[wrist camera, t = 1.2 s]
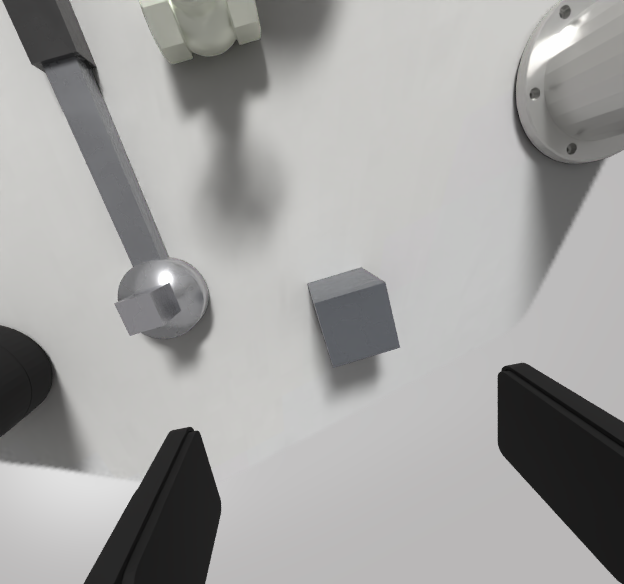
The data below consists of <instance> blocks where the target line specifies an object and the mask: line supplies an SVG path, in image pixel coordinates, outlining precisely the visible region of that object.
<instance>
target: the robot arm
mask: <svg viewBox="0 0 624 584" xmlns="http://www.w3.org/2000/svg"><path fill="white" fill-rule="evenodd" d="M516 100H517V109H518V113H519V118H520V121H521V124H522V126H523V128H524V131H525V133H526V135H527V136H528V138H529V139H530V140H531V142H532V143H533V145H534V146H535V147H536V148H537V149H539V150H540V151H541V152H542V153H543V154H544V155H546V156H548V157H550V158H552V159H554V160H556V161H560V162H564V163H575V164H581V163H586V162H592V161H597V160H601V159H604V158H607V157H610V156H612V155H614V154H616V153H618V152H620V151H622V150H624V0H561V1H559V2H558V3H557V4H556V5H555V6H553V7H552V8H551V9H550V11H549V12H548V13H547V14H546V15H545V16H544V17H543V18H542V20H541V21H540V22H539V24H538V25H537V27H536V28H535V30H534V32H533V33H532V35H531V36H530V38H529V41H528V43H527V45H526V47H525V50H524V52H523V54H522V58H521V62H520V66H519V69H518V75H517V84H516ZM498 446H499V449H500V451H501V453H502V454H503V456H504V457H505V458H506V459H507V460H508V461H509V462H510V463H511V465H512V466H513V467H514V468H515V469H516V470H517V471H518V472H519V473H520V475H521V476H522V477H523V478H524V479H525V480H526V481H527V482H528V483H529V484H530V485H531V486H532V488H534V490H535V491H536V492H537V493H538V494H539V495H540V496H541V498H542V499H543V500H544V501H545V502H546V503H547V504H548V505H549V506H550V507H551V508H552V510H553V511H554V512H555V513H556V514H557V515H558V516H559V517H560V518H561V519H562V521H563V522H564V523H565V524H566V525H567V526H568V527H569V528H570V529H571V530H572V531H573V533H574V534H575V535H576V536H577V537H578V538H579V539H580V540H581V541H582V542H583V543H584V545H586V547H587V548H588V549H589V550H590V551H591V552H592V553H593V554H594V556H595V557H596V558H597V559H598V560H599V561H600V562H601V563H602V564H603V565H604V567H605V568H606V569H607V570H608V571H609V572H610V573H611V574H612V575H613V576H614V577H615V578H616V579H617V580H618V581H619V582H620V583H622V584H624V422H622V421H621V420H619V419H617V418H616V417H614V416H612V415H611V414H609V413H607V412H606V411H604V410H602V409H601V408H599V407H597V406H596V405H594V404H592V403H590V402H589V401H587V400H586V399H584V398H582V397H581V396H579V395H578V394H576V393H574V392H572V391H571V390H569V389H567V388H566V387H564V386H563V385H561V384H559V383H558V382H556V381H554V380H553V379H551V378H549V377H548V376H546V375H544V374H543V373H541V372H539V371H538V370H536V369H534V368H533V367H531V366H530V365H528V364H526V363H519V364H513V365H508V366H504V367H503V368H502V371H501V372H500V373H499V374H498ZM220 515H221V500H220V496H219V493H218V490H217V487H216V483H215V480H214V477H213V474H212V470H211V467H210V464H209V461H208V457H207V454H206V451H205V447H204V444H203V441H202V438H201V435H200V432H199V431H194V429H193V428H192V427H187V428H182V429H177V430H172V431H170V432H169V434H168V435H167V437H166V439H165V441H164V443H163V444H162V446H161V448H160V450H159V452H158V453H157V455H156V457H155V459H154V461H153V462H152V464H151V466H150V468H149V470H148V471H147V473H146V475H145V477H144V479H143V481H142V482H141V484H140V486H139V488H138V489H137V490H136V492H135V493H134V495H133V496H132V498H131V500H130V502H129V503H128V505H127V507H126V509H125V511H124V513H123V514H122V516H121V518H120V520H119V521H118V523H117V525H116V527H115V529H114V530H113V532H112V534H111V536H110V538H109V539H108V541H107V543H106V545H105V547H104V548H103V550H102V552H101V554H100V555H99V557H98V559H97V561H96V563H95V565H94V566H93V568H92V570H91V572H90V573H89V575H88V577H87V579H86V580H85V582H84V584H205V581H206V577H207V573H208V568H209V564H210V559H211V554H212V550H213V546H214V541H215V537H216V533H217V528H218V524H219V519H220Z"/></svg>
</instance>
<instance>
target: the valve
mask: <svg viewBox="0 0 624 584" xmlns="http://www.w3.org/2000/svg"><path fill="white" fill-rule="evenodd" d="M139 2H140V6H141V9H142V12H143V14H144V17H145V19H146V22H147V24H148V27H149V29H150V31H151V33H152V35H153V37H154V40H155V42H156V44H157V45H158V47H159V49H160V51H161V53H162V54H163V56H164V57H165V59H166V60H167V61H168V62H170V63H171V64H172V65H173V64H177V63H180V62H183V61H187V60H190V59H193V55H192V52H193V53H195V54H198V55H201V56H208V57H209V56H217V55H220V54H222V53H224V52H226V51H227V50H228V49H229V48H230V47H231V46H232V45H233V43H234V42H235V40H236V39H237V40H238V43H239V45H242V44H245V43H249V42H252V41H255V40H259V39H260V37H261V27H260V21H259V17H258V12H257V7H256V3H255V0H139Z"/></svg>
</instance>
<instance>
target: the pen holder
mask: <svg viewBox="0 0 624 584" xmlns="http://www.w3.org/2000/svg"><path fill="white" fill-rule="evenodd" d="M51 382H52V371H51V366H50V363H49V360H48V358H47V356H46V354H45V353H44V351H43V350H42V349H41V348H40V346H39V345H38V344H37V343H36V342H34V341H33V340H32V339H31V338H29V337H28V336H26V335H25V334H23V333H21V332H19V331H16V330H14V329H11V328H8V327H5V326H1V325H0V437H1V436H2V435H4V434H5V433H6V432H7V431H8V430H10V429H11V428H12V427H13V426H15V425H16V424H17V423H18V422H19V421H20V420H22V419H23V418H24V417H25V416H26V415H28V414H29V413H30V412H31V411H32V410H33V409H35V408H36V407H37V406H38V405H39V404H40V403H41V402H42V401H43V400H44V399H45V398H46V396H47V394H48V392H49V390H50V387H51Z"/></svg>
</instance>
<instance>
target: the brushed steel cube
mask: <svg viewBox="0 0 624 584" xmlns="http://www.w3.org/2000/svg"><path fill="white" fill-rule="evenodd" d="M308 287H309V291H310V294H311V297H312V301H313V304H314V307H315V311H316V314H317V317H318V321H319V324H320V328H321V331H322V334H323V337H324V341H325V344H326V347H327V350H328V353H329V356H330V359H331V362H332V366H333V368H334V367H337V366H341V365H344V364H347V363H351V362H354V361H357V360H360V359H364V358H367V357H370V356H374V355H377V354H380V353H383V352H387V351H390V350H393V349H397V348H400V346H399V341H398V337H397V332H396V328H395V323H394V319H393V315H392V310H391V306H390V301H389V297H388V292H387V288H386V283H385V282H384V281H383V280H381V279H379V278H378V277H376V276H375V275H373V274H371V273H370V272H368V271H367V270H365V269H363V268H362V267H361V268H358V269H354V270H351V271H348V272H344V273H341V274H338V275H334V276H331V277H328V278H324V279H321V280H318V281H314V282H311V283H308Z"/></svg>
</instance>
